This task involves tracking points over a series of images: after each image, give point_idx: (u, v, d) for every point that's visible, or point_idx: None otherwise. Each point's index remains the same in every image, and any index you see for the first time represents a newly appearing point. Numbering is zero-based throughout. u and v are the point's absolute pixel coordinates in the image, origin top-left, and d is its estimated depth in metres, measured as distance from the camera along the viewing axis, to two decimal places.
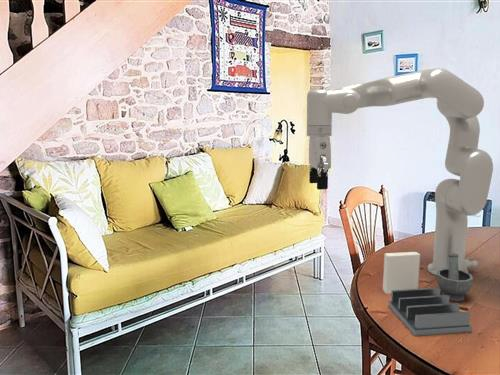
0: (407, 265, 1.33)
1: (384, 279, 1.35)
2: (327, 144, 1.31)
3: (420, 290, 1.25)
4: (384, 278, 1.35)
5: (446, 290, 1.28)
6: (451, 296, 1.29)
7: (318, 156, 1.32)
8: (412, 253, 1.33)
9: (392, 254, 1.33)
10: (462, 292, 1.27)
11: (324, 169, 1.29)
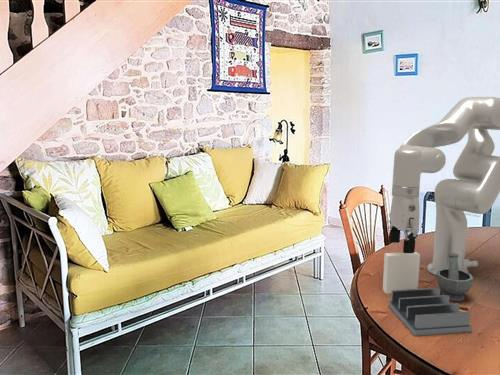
0: (407, 265, 1.33)
1: (384, 279, 1.35)
2: (416, 207, 1.25)
3: (420, 290, 1.25)
4: (384, 278, 1.35)
5: (446, 290, 1.28)
6: (451, 296, 1.29)
7: (406, 219, 1.25)
8: (412, 253, 1.33)
9: (392, 254, 1.33)
10: (462, 292, 1.27)
11: (414, 234, 1.23)
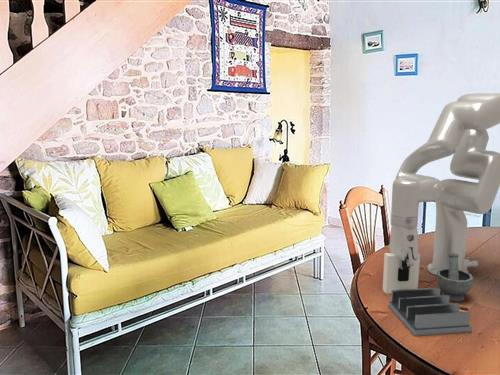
0: None
1: (384, 279, 1.35)
2: (415, 236, 1.27)
3: (420, 290, 1.25)
4: (383, 278, 1.35)
5: (446, 290, 1.28)
6: (451, 296, 1.29)
7: (405, 249, 1.27)
8: None
9: (392, 254, 1.33)
10: (462, 292, 1.27)
11: (408, 266, 1.29)
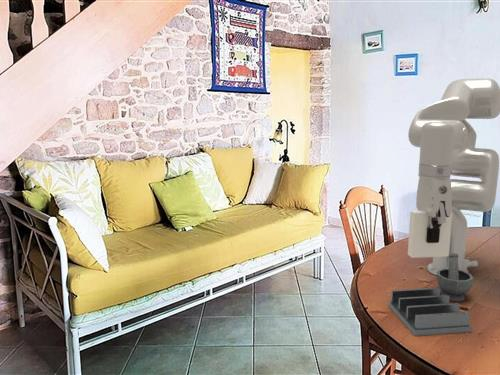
0: None
1: (410, 241, 1.16)
2: (448, 188, 1.09)
3: (420, 290, 1.25)
4: (409, 240, 1.16)
5: (446, 290, 1.28)
6: (451, 296, 1.29)
7: (437, 203, 1.09)
8: None
9: (420, 211, 1.14)
10: (462, 292, 1.27)
11: (439, 223, 1.10)
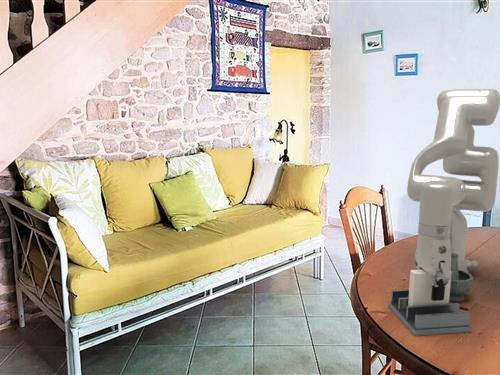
0: None
1: (410, 299, 1.18)
2: (447, 248, 1.10)
3: None
4: (409, 298, 1.18)
5: None
6: (451, 296, 1.29)
7: (436, 262, 1.10)
8: None
9: (420, 271, 1.16)
10: (462, 292, 1.27)
11: (444, 281, 1.09)
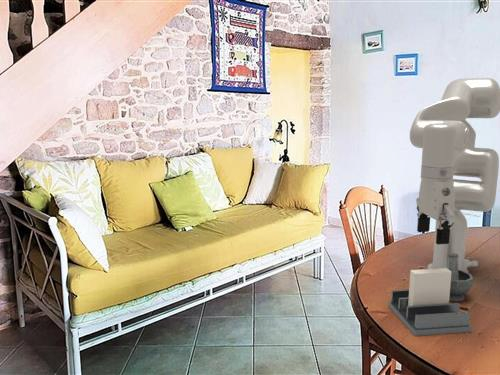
0: (437, 284, 1.16)
1: (410, 299, 1.18)
2: (451, 190, 1.08)
3: None
4: (409, 298, 1.18)
5: None
6: (451, 296, 1.29)
7: (440, 205, 1.08)
8: (442, 270, 1.17)
9: (420, 271, 1.16)
10: (462, 292, 1.27)
11: (449, 222, 1.06)
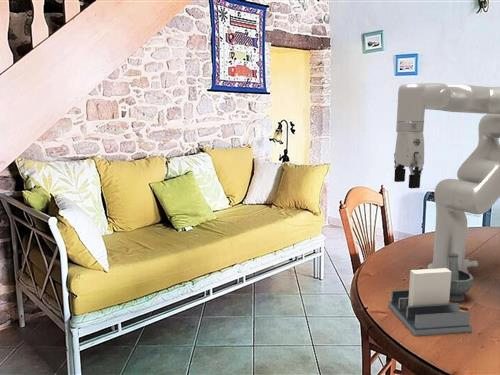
0: (437, 284, 1.16)
1: (410, 299, 1.18)
2: (421, 141, 1.26)
3: None
4: (409, 298, 1.18)
5: None
6: (451, 296, 1.29)
7: (411, 153, 1.26)
8: (442, 270, 1.17)
9: (420, 271, 1.16)
10: (462, 292, 1.27)
11: (419, 167, 1.24)
